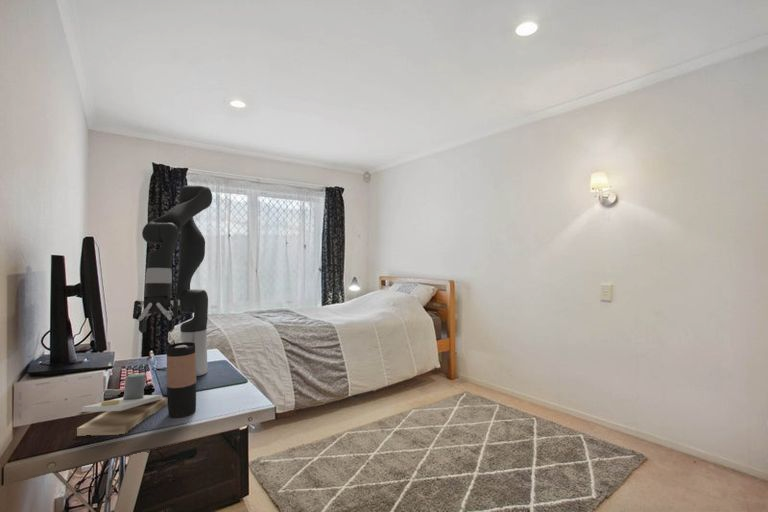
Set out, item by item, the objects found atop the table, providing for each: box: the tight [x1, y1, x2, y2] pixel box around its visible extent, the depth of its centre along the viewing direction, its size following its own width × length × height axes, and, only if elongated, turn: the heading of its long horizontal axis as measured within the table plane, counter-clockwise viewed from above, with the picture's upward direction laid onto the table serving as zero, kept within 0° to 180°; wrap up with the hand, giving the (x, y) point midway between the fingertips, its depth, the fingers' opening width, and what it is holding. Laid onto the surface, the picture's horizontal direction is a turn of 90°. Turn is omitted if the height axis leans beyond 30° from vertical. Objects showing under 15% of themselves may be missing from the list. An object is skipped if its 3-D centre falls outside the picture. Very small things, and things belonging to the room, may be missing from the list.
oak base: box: [76, 397, 168, 437], centre depth 108 cm, size 20×12×2 cm, turn 1°
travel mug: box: [166, 342, 197, 419], centre depth 111 cm, size 8×8×20 cm
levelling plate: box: [81, 373, 163, 413], centre depth 108 cm, size 19×10×8 cm, turn 1°
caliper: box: [104, 388, 124, 399], centre depth 125 cm, size 20×1×6 cm, turn 154°
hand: (156, 332), depth 123 cm, fingers open, 8 cm apart
